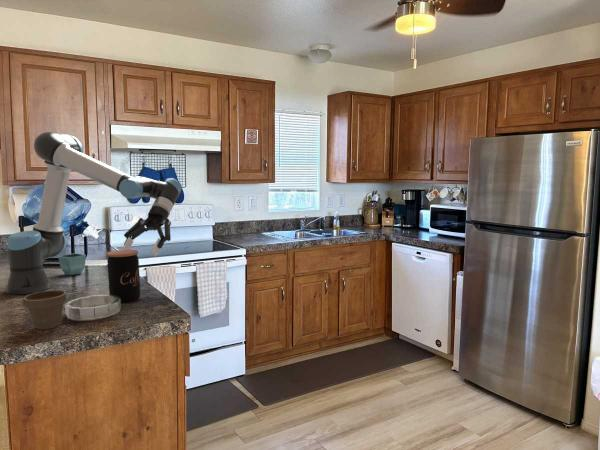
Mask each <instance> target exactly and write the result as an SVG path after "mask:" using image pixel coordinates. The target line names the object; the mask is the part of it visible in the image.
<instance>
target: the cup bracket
mask: <svg viewBox="0 0 600 450" xmlns="http://www.w3.org/2000/svg"><path fill="white" fill-rule="evenodd" d="M121 308H122V304H121V300H120V298H119V297H117V296H114V295H109V294H95V295H94V294H93V295H88V296H82V297H77V298H75V299H70V300H69V301H68V302H65V303H64V309H65V316H66V318H67V319H68V320H69V321H75V322H76V321H77V322H79V321H80V322H89V321H94V320H95V321H97V320H102V319H106V318H109V317H113V316H115V315H118V314H119V313H120V312H121Z"/></svg>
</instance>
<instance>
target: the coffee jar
mask: <svg viewBox="0 0 600 450" xmlns="http://www.w3.org/2000/svg"><path fill="white" fill-rule="evenodd" d="M106 254H107V257H108V258H107V276H108V279H107V280H108V292H109V294H108V295H114V296H117V297H119V298H120V300H121V305H123V304H129V303H130V304H131V303H133V302H137V301H138V300H139V299H141V298H140V297H141V279H140V260H139V256H138V254H139V250H137V249H129V250H122V249H117V250H116V249H115V250H112V251H108V252H107V253H106Z"/></svg>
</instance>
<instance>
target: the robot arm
mask: <svg viewBox="0 0 600 450" xmlns="http://www.w3.org/2000/svg"><path fill="white" fill-rule="evenodd" d="M79 140H80V139H78V138H77V137H76V136H74V135H70V134H68V133H62V132H61V133H60V132H53V131H52V132H51V131H45V132H42V133H40V134H39V135H38V136H36V138H35V139H34V142H33V149H34V152H35V153H36V155H37V156H38V157H39V158H40V159H41V160H43V161H44V164H45V166H46V167H47V170H46V176H45V182H44V186H43V193H42V199H41V205H40V211H39V215H38V222H37V223H35V224H34V225H33V226H32V230H23V231H19V232H14V233H12V234H10V235H9V236H8V237H7V246H6V247H7V251H8V263H9V275H8V279H7V284H6V286H5V289H6V294H8V295H29V294H33V293H37V292H42V291H47V290H49V289H50V287H51V286H50V281H49V279H48V277H47V274H46V273H45V270H44V262H43V261H44V260H46V259H51V258H54V257H58V256H60V254H62V253H63V252H64V250H65V249H66V248H67V247H66V246H67V237H66V236H65V233H64V230H65V229H64V227H62V221H63V220H62V219H63V214H64V209H65V202H66V198H67V191H68V187H69V181H70V174H71V172H72V171H73V172H76V173H79V174H80V175H82V176H85V177H86V178H89V179H91V180H93V181H95V182H98V183H99V184H102V185H104V186H106V187H108V188H110V189H112V190H114V191H117V192H119V193H120V195H121V196H122V197H124V198H127V199H137V198H143V197H144V198H145V197H147V198H150V199H151V198H152V199H155V200H154V202H153V203H152V204H151V205H152V206H151V207H150V210H149V211H148V213H147V218H145V219H143V218H142V217H140V218H139V219H138V220H137V222H136V223H135V224H133V225H132V226H131V228H129V229H128V230H127V231H126V232H125V233H124V234H123V236H124V237H125V238H126V239H125V241H124V242H123V246H122V249H121V250H131V247H132V245H133V243H134V242H135V241H134V240H135V239H136V238H138V237H140V236H141V235H143V233H145V232H147V233H148V231H157V233H158V236H159V238H157V240H156V241H155V243H154V246H153V247H152V250H151V252H150V253H151V254H152V256H153V257H157V256H158V253H159V251H160V249H162V248H163V246H164V243H166V242H170V241H171V239H172V238H171V237H172V236H171V225H172V222H171V220H170V219H169V216H170V214H171V212H172V209H173V207H174V206H175V203H176V201H177V199H178V197H179V196H180V193H181V191H182V189H183V188H182V183H181V182H180V181H179V180H177V179H175V178H173V177H171V178H169V177H168V178H166V179H165V181H160V180H155V179H152V178H148V177H145V176H138V175H136V176H134V177H133V176H131V175H128V174H127V173H125V172H123V171H121V170H119V169H116V168H115V167H112V166H110V165H108V164H105V163H104V162H101V161H100V160H97V159H95V158H94V157H91V156H89V155H87V154H85V153H83V152H84V148H83V145H82V143H81V141H79ZM162 226H164V232H163V229H162Z"/></svg>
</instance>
